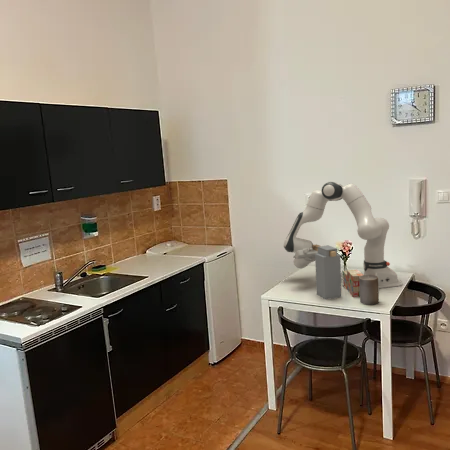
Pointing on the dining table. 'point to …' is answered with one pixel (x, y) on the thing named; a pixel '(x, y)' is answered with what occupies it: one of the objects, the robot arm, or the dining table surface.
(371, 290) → the pillar candle
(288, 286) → the dining table surface
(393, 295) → the dining table surface
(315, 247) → the oak bar
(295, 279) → the dining table surface
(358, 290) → the stack of blocks
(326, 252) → the slate-grey stand
